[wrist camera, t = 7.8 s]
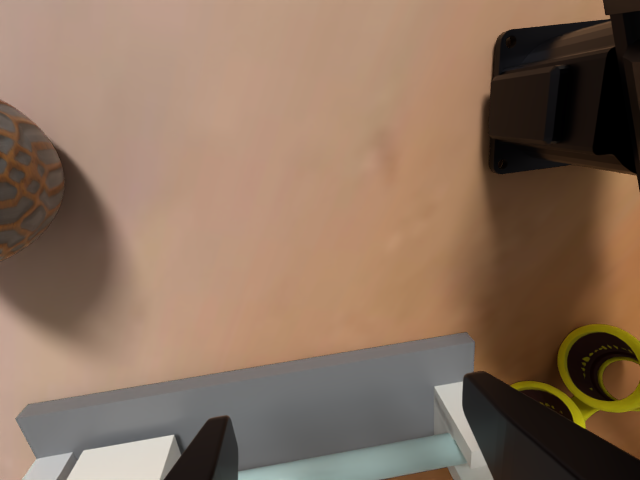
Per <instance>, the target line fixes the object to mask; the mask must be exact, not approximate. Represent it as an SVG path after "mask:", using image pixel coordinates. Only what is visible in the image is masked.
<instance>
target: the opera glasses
mask: <svg viewBox="0 0 640 480" xmlns="http://www.w3.org/2000/svg"><path fill="white" fill-rule="evenodd" d="M569 350H570V351H569ZM620 360H627V361H632V362H635V363H637V364H639V365H640V341H638V340H637V339H636V338H635V337H634V336H632V335H631V334H629V333H628V332H626V331H624V330H622V329H620V328H617V327H614V326H610V325H605V324H590V325H586V326H582V327H579V328H577V329H575V330H574V331H572V332H571V333H570V334H569V335H568V336H567V337H566V338H565V340H564V341H563V342H562V344H561V346H560V348H559V352H558V358H557V361H558V369H559V372H560V376H561V378H562V380H563V382H564V384H565V385H566V386H567V388H568V389H569V391H570V392H571V393H572V394H573V395H574V396H573V397H572V398H569V397H568V396H567V395H566V394H565V393H563V392H562V391H560V390H559V389H557V388H555V387H553V386H551V385H548V384H545V383H541V382H536V381H521V382H517V383H514V384H512V385H510V386H511V387H513V388H515V389H517V390H518V391H520V392H522V393H524V394H525V395H527V396H529V397H531V398H532V399H534V400H536V401H538V402H539V403H541V404H543V405H545V406H546V407H548V408H550V409H552V410H553V411H555V412H557V413H559V414H560V415H562V416H564V417H566V418H567V419H569V420H571V421H573V422H574V423H576V424H578V425H580V426H581V427H583V428H585V429H586V425H585V421H586V420H587V419H588V418H589V417H590V416H591V415H593V414H594V413H595V412H597V411H599V410H602V411H606V412H615V413H621V412H628V411H640V381H639V384H638V386H637V388H636V389H635V391H634V392H633V393H632V394H631V395H629V396H628V397H626V398H624V399H622V400H617V399H616V398H614V397H613V396H612V395H611V394H609V393H608V391H607V390H606V388H605V386H604V384H603V380H602V374H603V372H604V370H605V368H606V367H607V366H608V365H609V364H611V363H613V362H615V361H620ZM569 375H570V376H569ZM527 389H529V390H527ZM534 389H535V390H534Z"/></svg>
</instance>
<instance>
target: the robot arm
mask: <svg viewBox="0 0 640 480" xmlns="http://www.w3.org/2000/svg"><path fill="white" fill-rule="evenodd" d="M603 3H604V9H605V15H610V19H607V20H597V21H588V22H578V23H569V24H559V25H550V26H540V27H530V28H521V29H512V30H509V31H506V32H503V33H502V34H500V35H499V37H498V38H497V40H496V45H495V63H494V79H493V80H492V82H491V94H490V113H489V132H488V134H489V136H490V155H489V168H490V170H491V171H492V172H494V173H498V174H506V173H514V172H521V171H529V170H536V169H544V168H551V167H559V166H566V165H578V166H584V167H590V168H595V169H601V170H607V171H613V172H619V173H625V174H631V175H636V176H637V179H638V184H639V190H640V0H603ZM507 38H509V39H510V40H511V45H510V47H509V48H508V47H507V46H506V39H507ZM500 160H503V164H502V166H501V167H500V168H499V167H498V163H499V161H500ZM462 408H463V412H464V415H465V417H466V419H467V422H468V424H469V426H470V428H471V431H472V433H473V435H474V437H475V439H476V442H477V444H478V446H479V448H480V450H481V453H482V455H483V457H484V459H485V462H486V464H487V466H488V468H489V470H490V473H491V475H492V477H493V479H494V480H640V460H639V459H637V458H636V457H634V456H632V455H630V454H629V453H627V452H625V451H623V450H622V449H620V448H618V447H616V446H615V445H613V444H611V443H609V442H608V441H606V440H604V439H602V438H601V437H599V436H597V435H595V434H594V433H592V432H590V431H588V430H587V429H585V428H583V427H581V426H580V425H578V424H576V423H574V422H573V421H571V420H569V419H567V418H566V417H564V416H562V415H560V414H559V413H557V412H555V411H553V410H552V409H550V408H548V407H546V406H545V405H543V404H541V403H539V402H538V401H536V400H534V399H532V398H531V397H529V396H527V395H525V394H524V393H522V392H520V391H518V390H517V389H515V388H513V387H511V386H510V385H508V384H506V383H504V382H503V381H501V380H499V379H497V378H496V377H494V376H492V375H490V374H489V373H487V372H484V371H478V372H472V373H467V374H465V375H464V377H463V389H462ZM238 458H239V455H238V445H237V440H236V437H235V433H234V429H233V425H232V421H231V418H230V417H229V416H227V415H224V416H218V417H213V418H210V419H208V420H207V421H206V422H205V424H204V425H203V426H202V428H201V429H200V430H199V432H198V433H197V435H196V436H195V437H194V439H193V440H192V441H191V443H190V444H189V445H188V447H187V448H186V450H185V451H184V452H183V454H182V455H181V456H180V458H179V459H178V461H177V462H176V463H175V465H174V466H173V467H172V469H171V470H170V471H169V473H168V474H167V476H166V477H165V478H164V480H238Z"/></svg>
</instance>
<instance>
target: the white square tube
mask: <svg viewBox="0 0 640 480" xmlns="http://www.w3.org/2000/svg"><path fill="white" fill-rule="evenodd" d="M180 456H181V453H180V450H179V447H178V444H177V441H176V438H175V435H169V436H164V437H158V438H152V439H147V440H141V441H135V442H129V443H124V444H118V445H112V446H107V447H101V448H95V449H89V450H84V451H83V452H82V454H81V455H80V457H79V459H78V461H77V462H76V464H75V466H74V468H73V469H72V471H71V473H70V475H69V476H68V478H67V480H164V478H165V477H166V476H167V474H168V473H169V471H170V470H171V469H172V467H173V466H174V465H175V463H176V462H177V461H178V459H179V458H180Z"/></svg>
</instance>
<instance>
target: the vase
mask: <svg viewBox="0 0 640 480" xmlns="http://www.w3.org/2000/svg"><path fill="white" fill-rule="evenodd" d="M63 193H64V174H63V169H62V165H61V162H60V159H59V156H58V154H57V152H56V150H55V148H54V147H53V145H52V143H51V142H50V140H49V139H48V137H47V136H46V135H45V134H44V132H43V131H42V130H41V129H40V128H39V127H38V126H37V125H36V124H35V123H34V122H33V121H31V120H30V119H29V118H28V117H27V116H25V115H24V114H23V113H21V112H20V111H19V110H17V109H16V108H14V107H13V106H11V105H9V104H8V103H6V102H4V101H2V100H0V262H1V261H3V260H5V259H7V258H9V257H11V256H12V255H14V254H16V253H17V252H19V251H21V250H22V249H24V248H25V247H27V246H28V245H29V244H31V243H32V242H33V241H35V240H36V239H37V238H38V237H39V236H40V235H41V234H42V233H43V232H44V231H45V230H46V229H47V227H48V226H49V225H50V223H51V222H52V220H53V219H54V217H55V216H56V214H57V212H58V210H59V207H60V205H61V201H62V198H63Z"/></svg>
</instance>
